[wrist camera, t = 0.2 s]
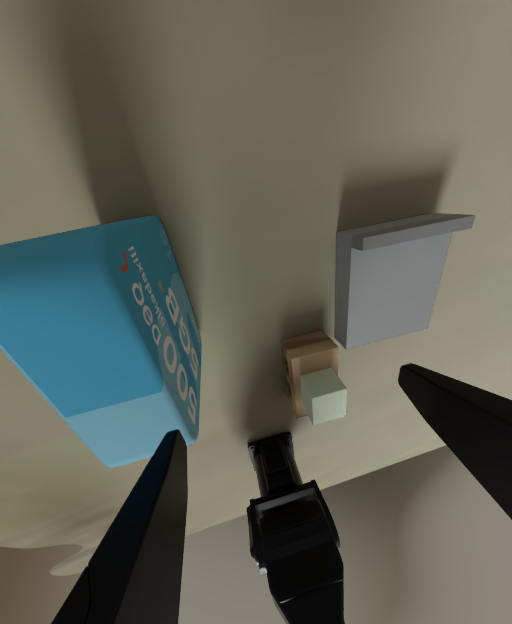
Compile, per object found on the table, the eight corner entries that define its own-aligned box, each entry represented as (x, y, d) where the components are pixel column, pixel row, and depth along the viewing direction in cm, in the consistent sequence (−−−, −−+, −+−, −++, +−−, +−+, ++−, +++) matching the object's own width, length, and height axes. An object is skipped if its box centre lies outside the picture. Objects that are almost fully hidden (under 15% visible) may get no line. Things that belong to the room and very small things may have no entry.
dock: (409, 318, 27) (440, 335, 24) (334, 337, 26) (354, 358, 23) (431, 213, 22) (475, 215, 18) (336, 232, 20) (363, 238, 17)
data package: (202, 338, 23) (199, 456, 12) (158, 349, 22) (114, 482, 12) (160, 213, 17) (85, 230, 7) (99, 224, 17) (-86, 262, 6)
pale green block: (330, 393, 25) (345, 416, 23) (301, 402, 25) (313, 425, 22) (331, 367, 23) (347, 388, 21) (299, 375, 23) (312, 398, 20)
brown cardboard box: (322, 385, 29) (336, 406, 26) (287, 395, 29) (297, 418, 26) (322, 329, 25) (338, 347, 22) (280, 339, 25) (291, 359, 22)
